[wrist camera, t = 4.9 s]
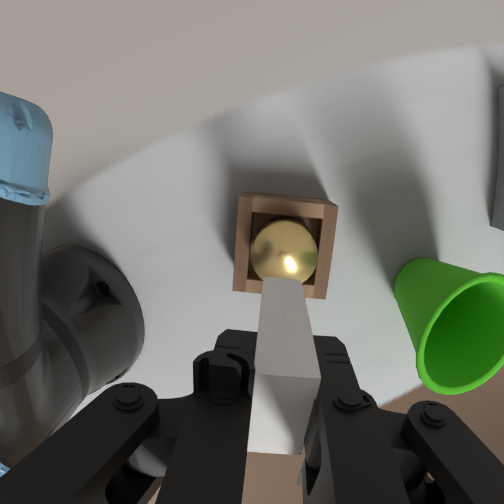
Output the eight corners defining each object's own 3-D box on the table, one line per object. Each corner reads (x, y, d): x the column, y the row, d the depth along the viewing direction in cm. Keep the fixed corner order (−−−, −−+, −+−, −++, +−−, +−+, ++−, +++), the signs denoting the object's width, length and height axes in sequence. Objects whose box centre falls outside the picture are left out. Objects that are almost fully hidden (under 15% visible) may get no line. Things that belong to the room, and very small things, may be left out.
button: (252, 271, 25) (248, 284, 22) (256, 214, 24) (253, 220, 21) (309, 276, 25) (313, 290, 22) (316, 220, 24) (321, 227, 21)
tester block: (238, 274, 28) (232, 290, 24) (244, 192, 26) (238, 196, 23) (319, 281, 28) (325, 299, 24) (329, 200, 26) (338, 206, 22)
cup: (413, 215, 26) (482, 244, 15) (472, 271, 26) (539, 316, 16) (353, 296, 28) (389, 364, 17) (417, 342, 29) (463, 410, 18)
